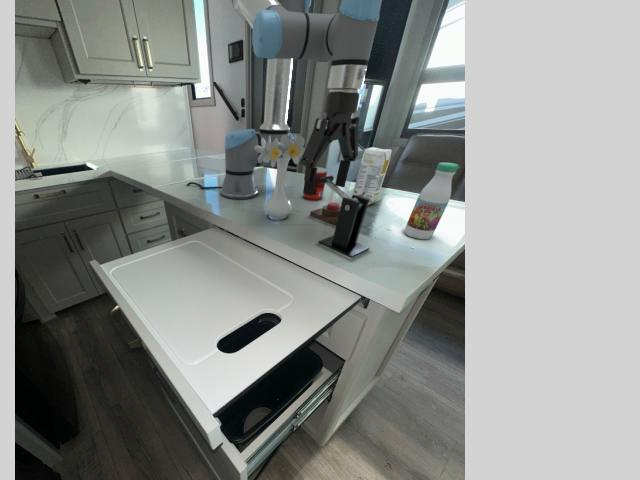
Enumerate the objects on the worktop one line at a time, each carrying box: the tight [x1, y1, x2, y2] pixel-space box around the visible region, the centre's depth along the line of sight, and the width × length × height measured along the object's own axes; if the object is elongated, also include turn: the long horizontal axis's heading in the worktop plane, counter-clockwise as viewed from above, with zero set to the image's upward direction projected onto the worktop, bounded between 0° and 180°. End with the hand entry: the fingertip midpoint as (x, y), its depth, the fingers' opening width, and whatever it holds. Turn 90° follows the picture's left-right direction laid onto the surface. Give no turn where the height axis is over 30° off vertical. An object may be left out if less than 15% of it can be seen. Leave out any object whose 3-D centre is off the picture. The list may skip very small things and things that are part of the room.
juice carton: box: [352, 146, 393, 206], centre depth 101 cm, size 8×9×19 cm
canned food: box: [303, 166, 328, 201], centre depth 108 cm, size 8×8×11 cm
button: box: [327, 201, 340, 210], centre depth 89 cm, size 4×4×2 cm
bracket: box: [318, 194, 370, 259], centre depth 71 cm, size 11×8×14 cm
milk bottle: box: [403, 162, 459, 240], centre depth 77 cm, size 8×8×20 cm
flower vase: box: [254, 133, 306, 221], centre depth 86 cm, size 13×18×25 cm
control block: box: [309, 204, 341, 227], centre depth 91 cm, size 11×9×4 cm
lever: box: [317, 175, 363, 211], centre depth 69 cm, size 13×5×2 cm, turn 36°
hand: (324, 190), depth 73 cm, fingers open, 13 cm apart
